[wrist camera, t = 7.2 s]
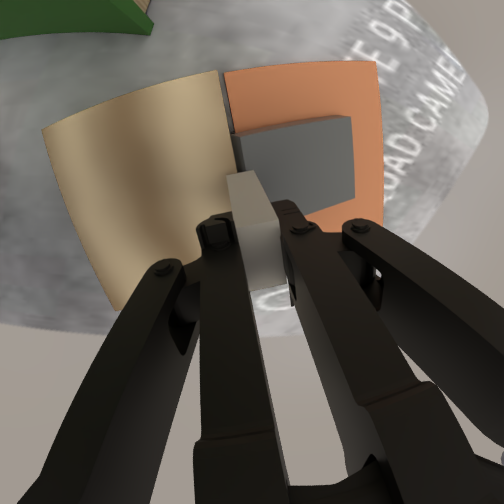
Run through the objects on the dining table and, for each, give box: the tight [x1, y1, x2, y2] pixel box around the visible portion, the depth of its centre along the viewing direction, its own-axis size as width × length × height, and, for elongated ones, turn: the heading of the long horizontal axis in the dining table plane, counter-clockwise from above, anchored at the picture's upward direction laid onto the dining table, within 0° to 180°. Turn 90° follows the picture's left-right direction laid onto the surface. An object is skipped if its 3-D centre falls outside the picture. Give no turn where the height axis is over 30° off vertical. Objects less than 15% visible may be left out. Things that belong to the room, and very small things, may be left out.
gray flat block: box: [230, 115, 355, 216], centre depth 19 cm, size 8×6×2 cm
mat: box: [224, 61, 384, 232], centre depth 21 cm, size 11×14×1 cm
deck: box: [42, 70, 237, 311], centre depth 19 cm, size 11×14×4 cm
